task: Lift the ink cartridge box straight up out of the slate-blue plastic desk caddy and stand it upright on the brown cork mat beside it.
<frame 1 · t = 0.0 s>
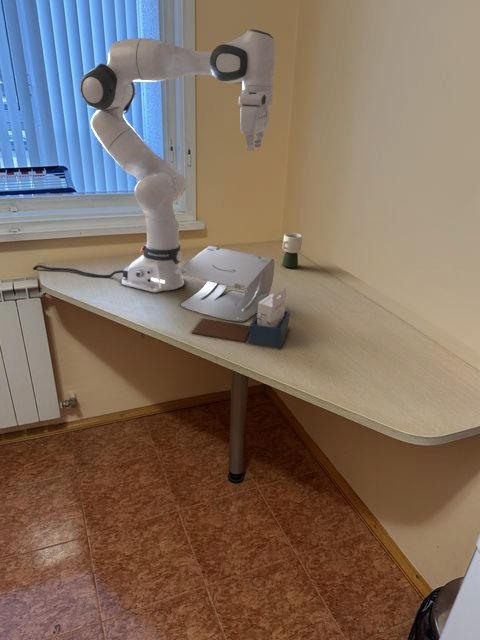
hand: (254, 148, 146), 48 cm above the table, tool pointing down, fingers open, 8 cm apart
ink cartridge box: (269, 336, 144), resting in caddy
character mug: (289, 266, 198), on the table
cork mat: (222, 330, 146), on the table
caddy: (269, 336, 144), on the table
laptop stand: (225, 303, 164), on the table
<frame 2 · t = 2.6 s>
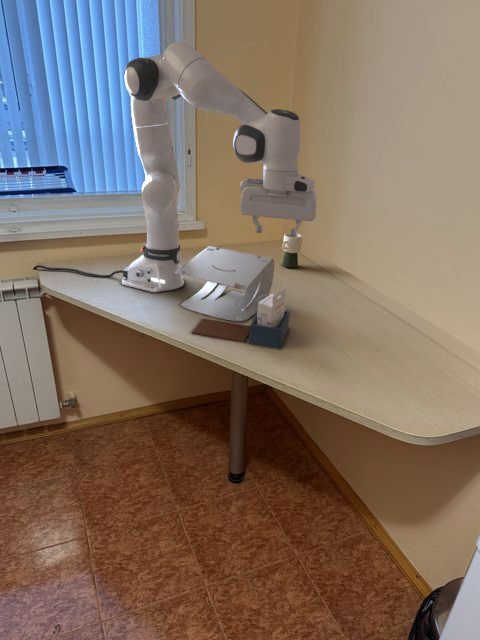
hand: (276, 234, 131), 30 cm above the table, tool pointing down, fingers open, 8 cm apart
nothing on the table moved.
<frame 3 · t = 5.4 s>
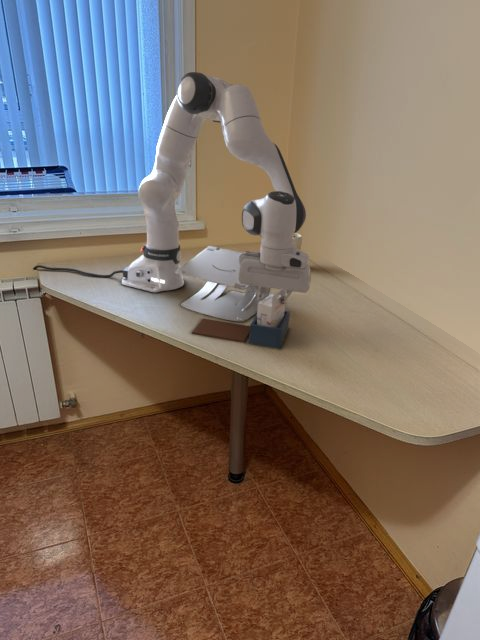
hand: (272, 301, 139), 11 cm above the table, tool pointing down, fingers closed on ink cartridge box, 5 cm apart
ink cartridge box: (268, 336, 144), resting in caddy, touching gripper
everything else where it was.
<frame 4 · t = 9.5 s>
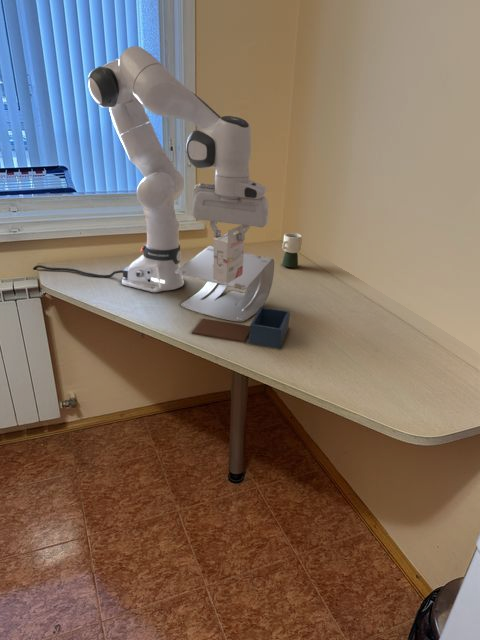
hand: (229, 238, 132), 28 cm above the table, tool pointing down, fingers closed on ink cartridge box, 5 cm apart
ink cartridge box: (227, 278, 138), point 17 cm above the table, touching gripper
everything else where it was.
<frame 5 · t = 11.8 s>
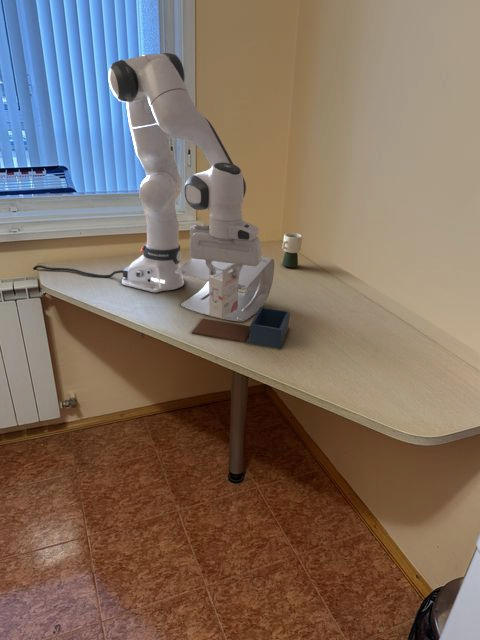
hand: (224, 276, 137), 17 cm above the table, tool pointing down, fingers closed on ink cartridge box, 5 cm apart
ink cartridge box: (223, 312, 143), point 6 cm above the table, touching gripper
everything else where it was.
when the fingers open (11 cm above the table, at t = 13.7 s): ink cartridge box stays where it is, resting on cork mat.
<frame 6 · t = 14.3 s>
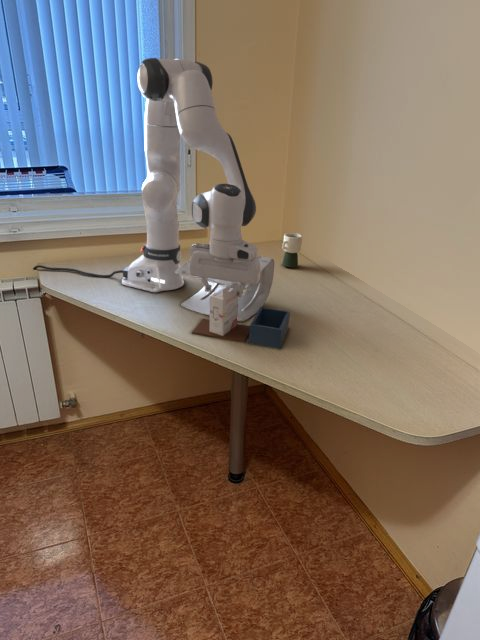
hand: (223, 293, 140), 12 cm above the table, tool pointing down, fingers open, 8 cm apart
ink cartridge box: (223, 329, 146), resting on cork mat
everything else where it was.
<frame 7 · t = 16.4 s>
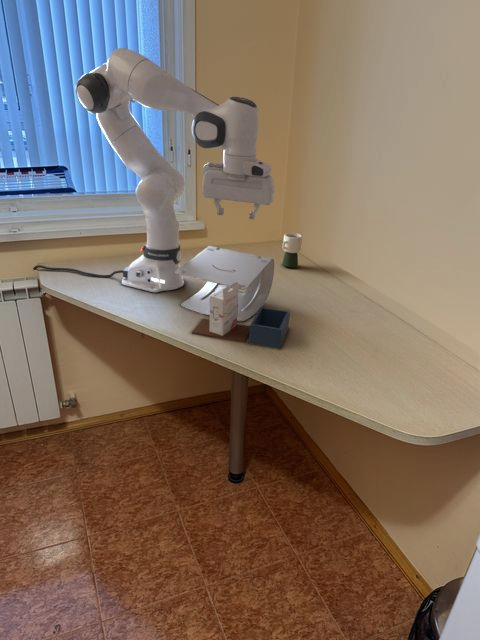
hand: (236, 216, 137), 32 cm above the table, tool pointing down, fingers open, 8 cm apart
nothing on the table moved.
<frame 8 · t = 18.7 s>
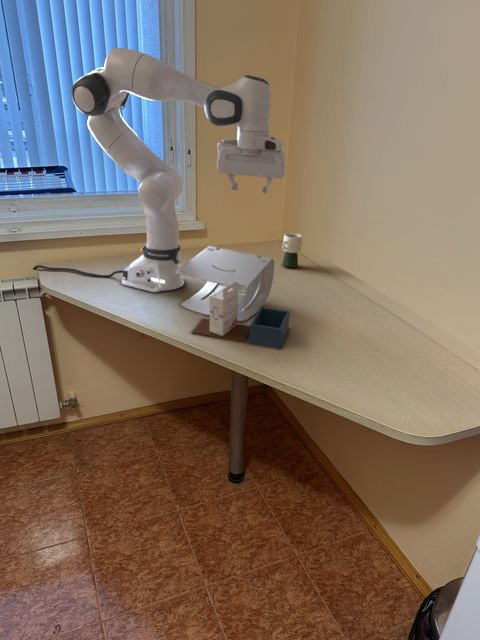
hand: (249, 191, 145), 37 cm above the table, tool pointing down, fingers open, 8 cm apart
nothing on the table moved.
at the end: ink cartridge box inside the target area on the cork mat (0.2 cm from its centre), point 0.3 cm above the cork mat's base; ink cartridge box tilted 0°; the gripper is holding nothing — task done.
